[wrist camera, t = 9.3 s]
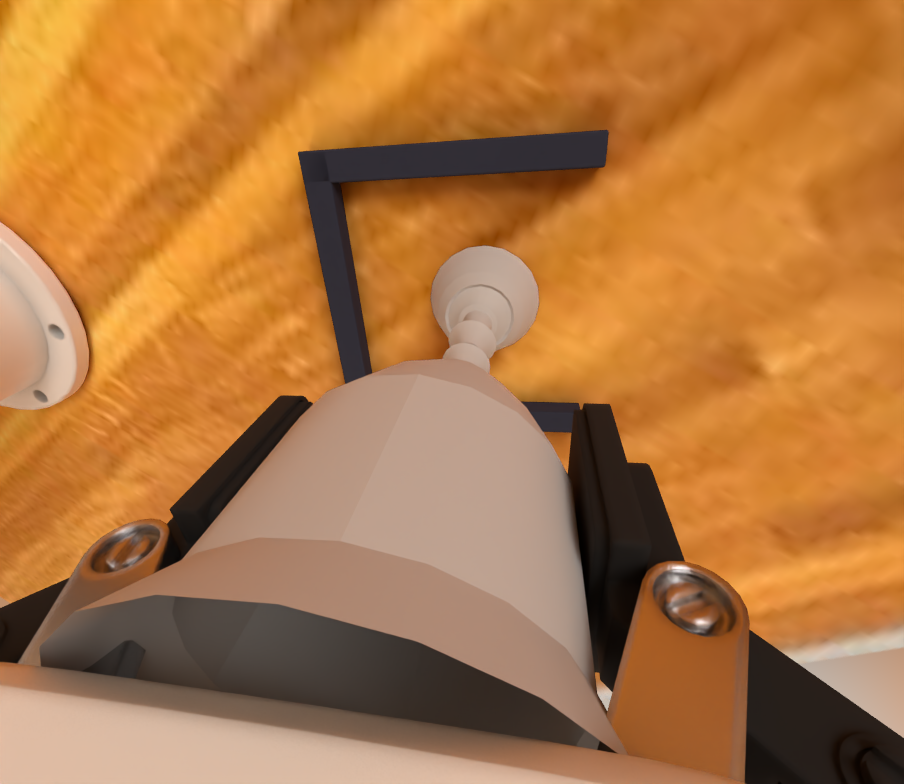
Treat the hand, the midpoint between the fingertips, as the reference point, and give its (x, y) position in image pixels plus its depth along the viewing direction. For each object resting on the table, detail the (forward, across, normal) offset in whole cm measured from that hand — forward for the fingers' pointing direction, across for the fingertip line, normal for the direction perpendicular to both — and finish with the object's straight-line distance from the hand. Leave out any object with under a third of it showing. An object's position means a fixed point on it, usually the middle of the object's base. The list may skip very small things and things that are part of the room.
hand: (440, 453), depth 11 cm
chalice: (+12, 0, 0) cm, 12 cm away
